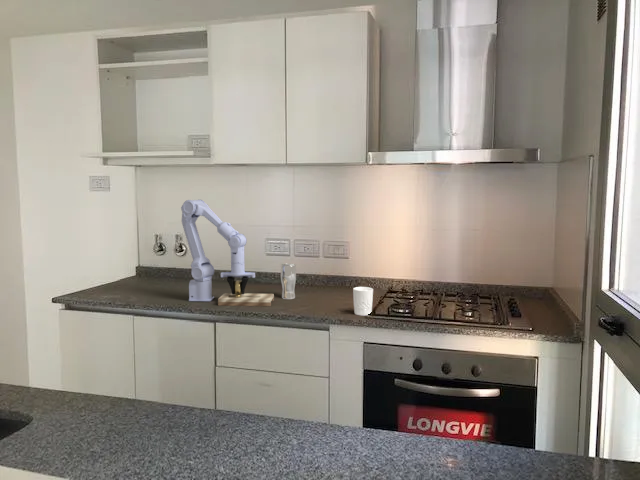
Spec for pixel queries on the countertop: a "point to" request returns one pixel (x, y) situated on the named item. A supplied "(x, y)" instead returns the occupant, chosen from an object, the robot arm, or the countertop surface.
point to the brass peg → (238, 288)
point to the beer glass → (288, 280)
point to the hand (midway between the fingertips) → (238, 293)
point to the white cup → (362, 300)
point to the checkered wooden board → (246, 300)
